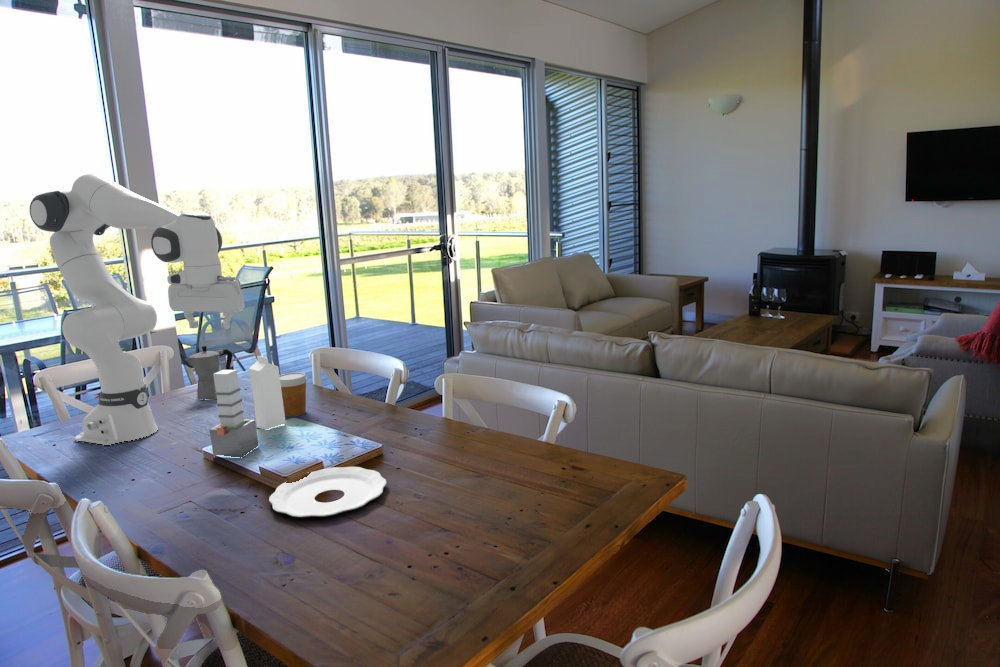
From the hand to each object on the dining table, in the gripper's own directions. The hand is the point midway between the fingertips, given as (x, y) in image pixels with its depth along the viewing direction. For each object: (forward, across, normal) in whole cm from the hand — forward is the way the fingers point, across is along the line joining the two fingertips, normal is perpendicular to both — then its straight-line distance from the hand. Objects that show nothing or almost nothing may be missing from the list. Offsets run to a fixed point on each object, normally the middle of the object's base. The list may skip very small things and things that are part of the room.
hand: (209, 328), depth 179 cm
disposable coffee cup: (+34, -5, -29) cm, 45 cm away
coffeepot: (+35, +35, -45) cm, 67 cm away
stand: (+33, -8, +6) cm, 34 cm away
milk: (+33, -6, -14) cm, 37 cm away
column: (+26, -8, +6) cm, 28 cm away
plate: (+32, -44, +25) cm, 60 cm away
